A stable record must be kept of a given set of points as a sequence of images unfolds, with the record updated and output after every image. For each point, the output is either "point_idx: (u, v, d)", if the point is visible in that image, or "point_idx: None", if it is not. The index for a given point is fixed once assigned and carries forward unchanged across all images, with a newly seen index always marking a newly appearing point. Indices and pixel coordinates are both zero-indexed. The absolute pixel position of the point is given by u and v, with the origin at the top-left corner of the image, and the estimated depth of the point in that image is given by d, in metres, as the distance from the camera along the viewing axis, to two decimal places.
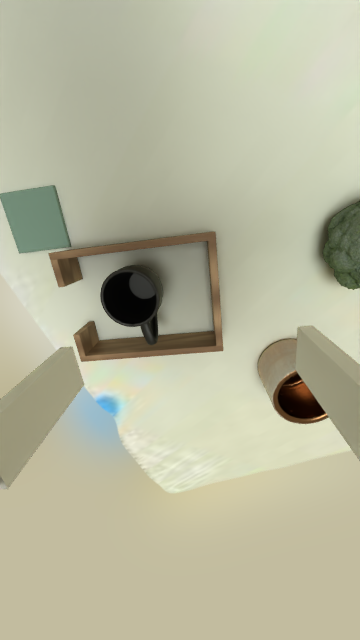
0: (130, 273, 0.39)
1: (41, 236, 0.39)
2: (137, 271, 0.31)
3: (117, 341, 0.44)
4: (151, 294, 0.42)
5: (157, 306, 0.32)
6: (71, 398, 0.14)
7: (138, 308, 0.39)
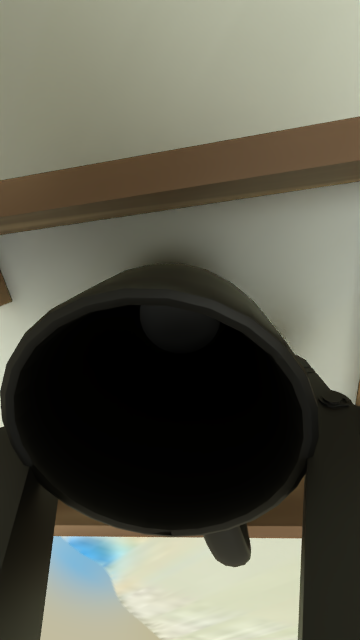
0: None
1: None
2: (209, 300, 0.05)
3: None
4: (199, 343, 0.15)
5: (300, 474, 0.06)
6: None
7: (169, 396, 0.13)
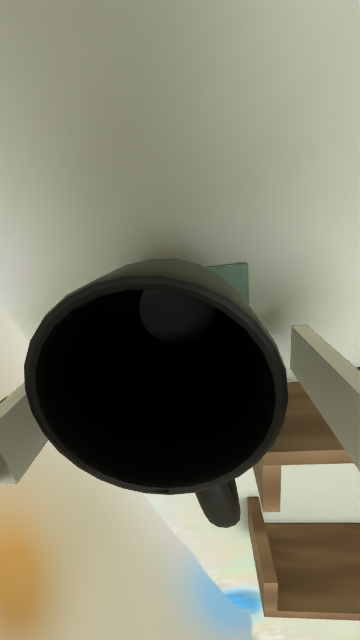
0: None
1: None
2: (194, 284, 0.06)
3: (302, 534, 0.23)
4: (195, 335, 0.17)
5: (275, 433, 0.07)
6: None
7: (168, 382, 0.14)
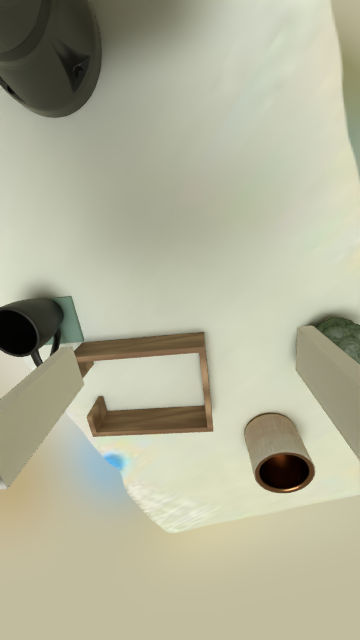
0: None
1: None
2: (14, 309, 0.34)
3: (122, 413, 0.51)
4: None
5: (38, 339, 0.36)
6: (71, 398, 0.14)
7: None
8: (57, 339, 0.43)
